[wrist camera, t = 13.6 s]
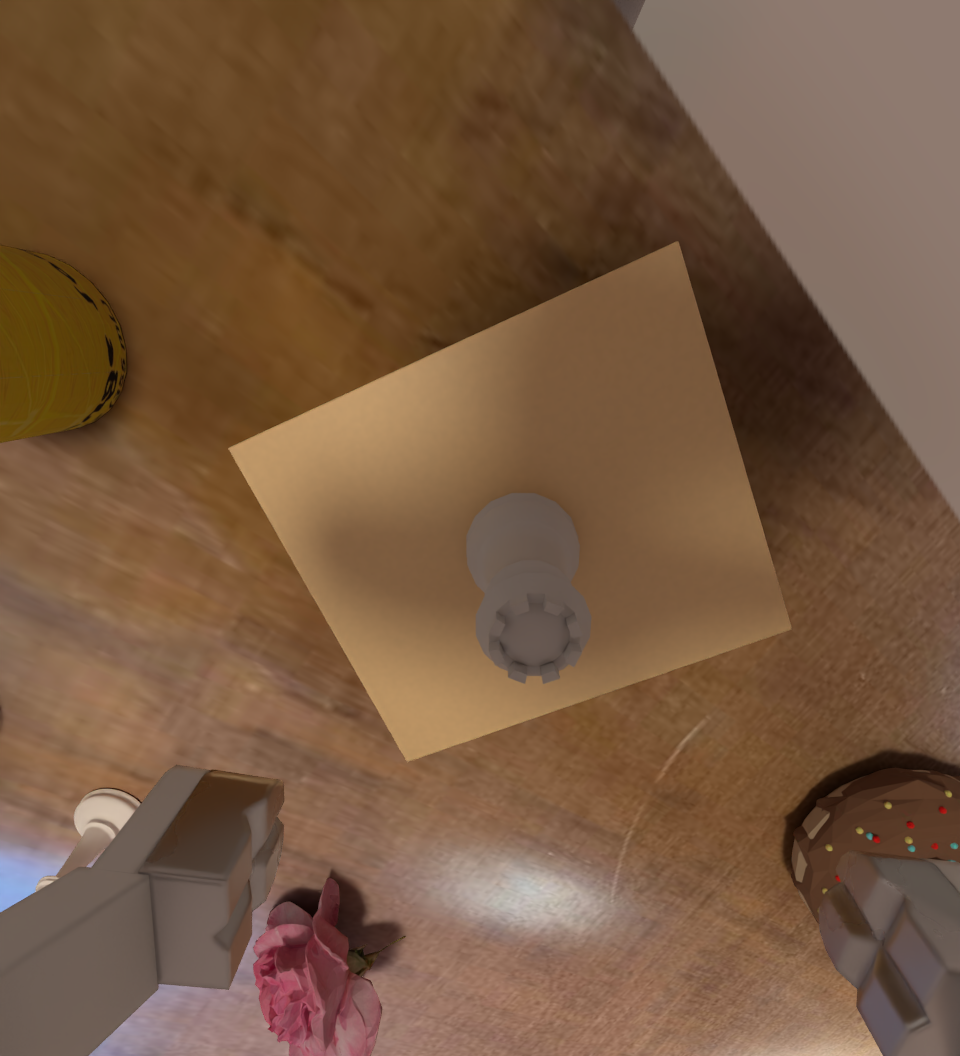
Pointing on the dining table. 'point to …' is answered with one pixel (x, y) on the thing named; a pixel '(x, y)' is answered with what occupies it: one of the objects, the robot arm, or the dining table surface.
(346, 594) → the board box
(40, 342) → the beverage can
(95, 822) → the chess piece
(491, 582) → the rook chess piece
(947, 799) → the donut
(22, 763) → the dining table surface
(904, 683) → the dining table surface
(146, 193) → the dining table surface
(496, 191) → the dining table surface
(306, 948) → the flower
